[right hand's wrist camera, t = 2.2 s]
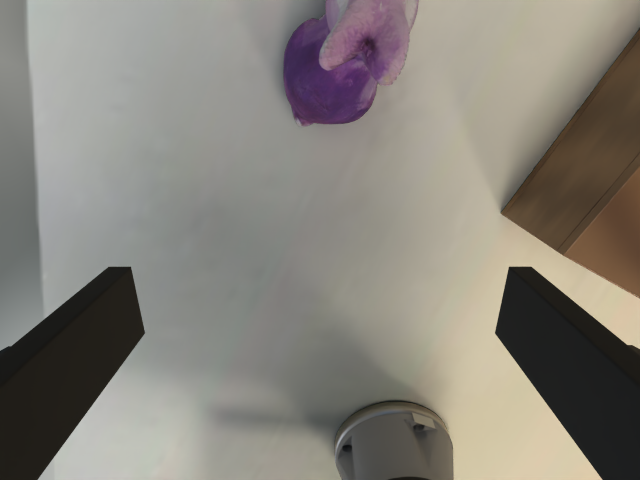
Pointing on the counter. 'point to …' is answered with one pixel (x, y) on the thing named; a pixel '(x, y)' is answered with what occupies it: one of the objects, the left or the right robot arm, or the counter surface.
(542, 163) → the cabinet
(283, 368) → the counter surface
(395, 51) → the figurine
